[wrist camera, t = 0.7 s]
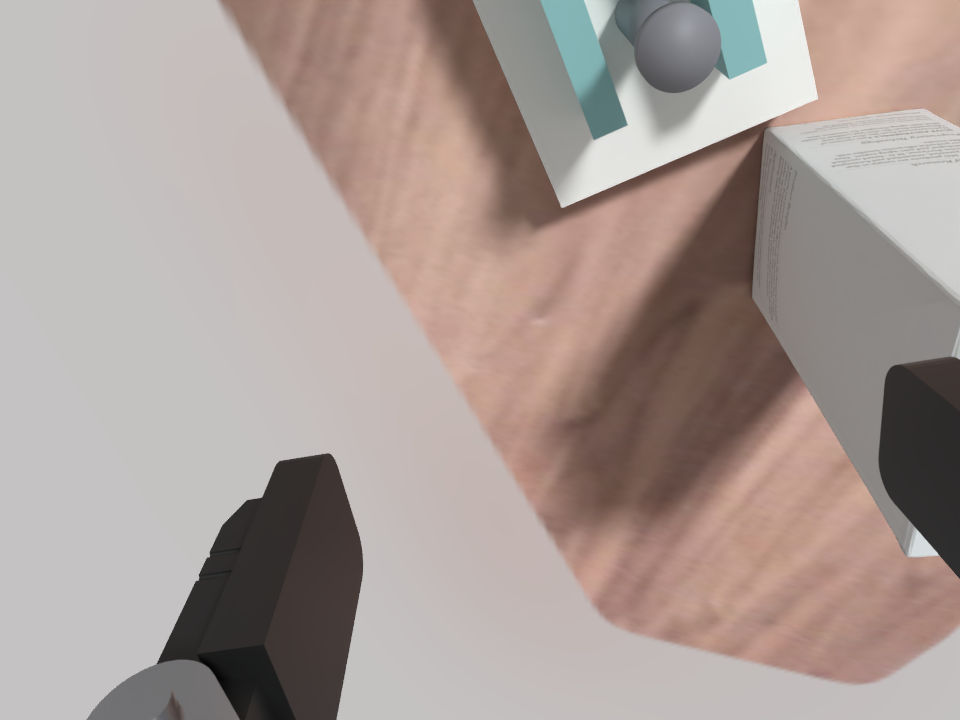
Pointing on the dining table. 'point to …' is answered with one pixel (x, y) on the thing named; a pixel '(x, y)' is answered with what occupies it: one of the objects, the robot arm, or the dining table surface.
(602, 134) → the c link
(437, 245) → the dining table surface
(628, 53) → the stand
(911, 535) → the skincare box
